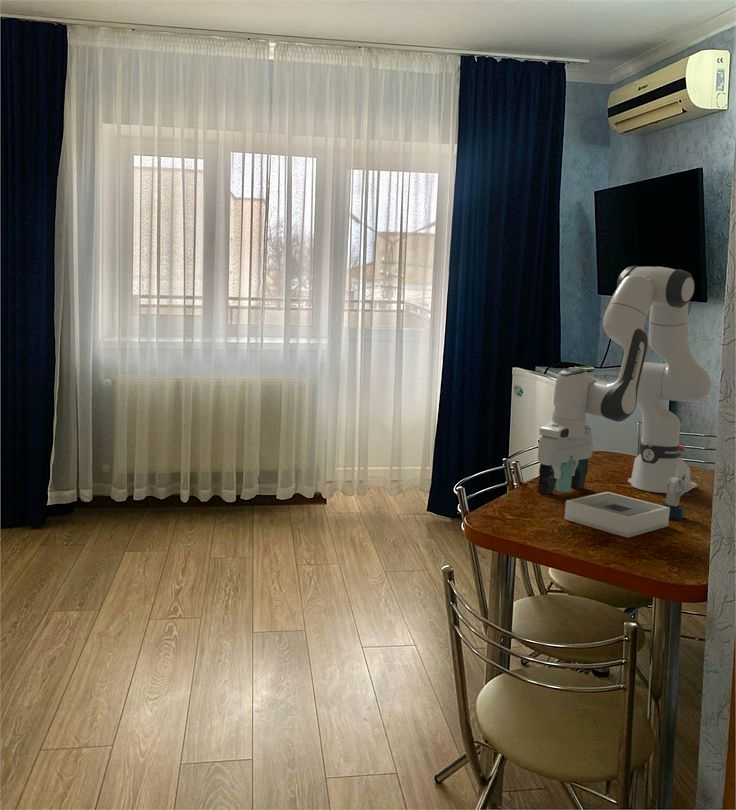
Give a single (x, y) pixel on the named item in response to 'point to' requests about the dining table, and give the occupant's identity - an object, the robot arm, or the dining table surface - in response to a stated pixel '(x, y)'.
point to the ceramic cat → (549, 481)
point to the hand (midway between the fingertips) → (564, 477)
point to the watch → (675, 497)
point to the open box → (617, 514)
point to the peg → (565, 476)
